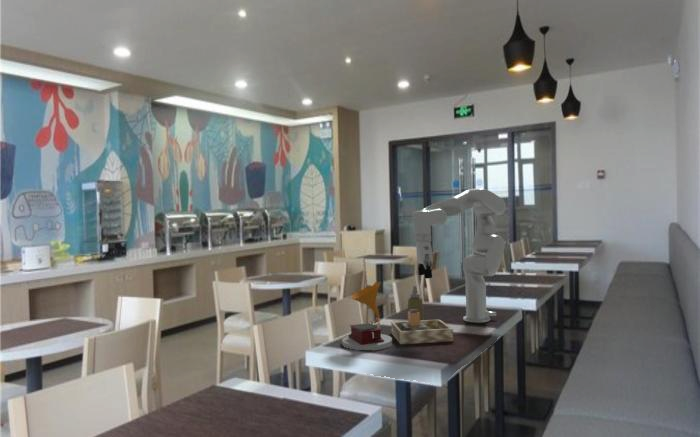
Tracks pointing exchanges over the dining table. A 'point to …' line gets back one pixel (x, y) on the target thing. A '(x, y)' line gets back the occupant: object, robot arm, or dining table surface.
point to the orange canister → (413, 318)
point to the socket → (406, 328)
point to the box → (423, 332)
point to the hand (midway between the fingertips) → (425, 276)
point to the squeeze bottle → (416, 303)
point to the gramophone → (367, 325)
